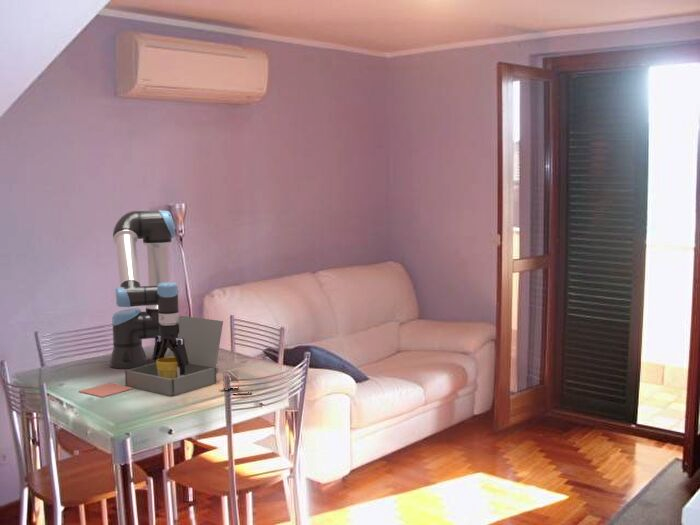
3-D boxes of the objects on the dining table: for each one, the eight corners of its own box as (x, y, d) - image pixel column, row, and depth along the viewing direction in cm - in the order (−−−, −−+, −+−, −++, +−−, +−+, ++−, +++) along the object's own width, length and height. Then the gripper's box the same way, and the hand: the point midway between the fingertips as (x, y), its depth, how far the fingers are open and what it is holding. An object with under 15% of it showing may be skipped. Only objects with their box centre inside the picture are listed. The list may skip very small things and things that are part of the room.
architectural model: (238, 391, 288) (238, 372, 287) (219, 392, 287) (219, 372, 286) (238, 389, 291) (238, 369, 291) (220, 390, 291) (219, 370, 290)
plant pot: (179, 379, 305) (178, 355, 304) (189, 385, 296) (188, 360, 295) (153, 383, 299) (152, 358, 298) (162, 389, 291) (161, 363, 290)
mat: (78, 392, 289) (78, 390, 289) (110, 383, 300) (110, 382, 300) (102, 397, 281) (102, 396, 281) (133, 388, 292) (133, 387, 292)
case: (125, 386, 296) (122, 324, 294) (178, 371, 318) (176, 314, 315) (172, 396, 281) (169, 331, 279) (225, 380, 303) (223, 320, 300)
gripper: (141, 322, 299) (143, 379, 301) (182, 328, 286) (184, 387, 288) (156, 319, 305) (158, 375, 307) (197, 324, 292) (199, 383, 294)
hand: (171, 381), depth 298 cm, fingers closed on plant pot, 10 cm apart
